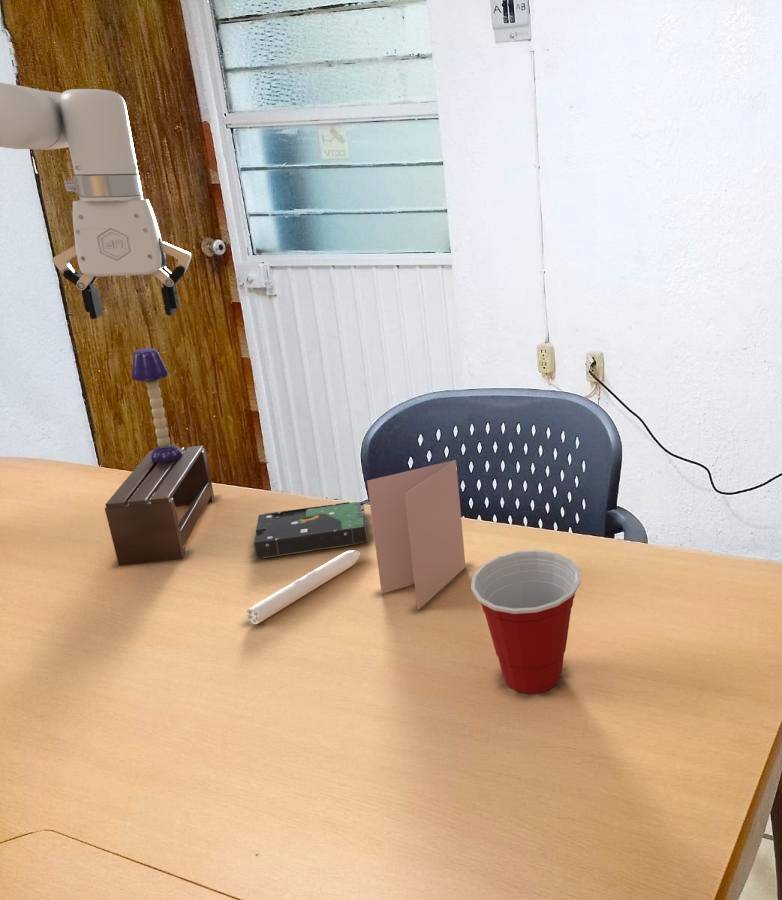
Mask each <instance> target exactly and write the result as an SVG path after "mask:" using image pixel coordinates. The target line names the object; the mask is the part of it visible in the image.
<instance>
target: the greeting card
mask: <svg viewBox="0 0 782 900" xmlns="http://www.w3.org/2000/svg"><path fill="white" fill-rule="evenodd" d="M366 483H367V484H366V485H367V493H368V500H369V507H370V513H371V524H372V529H373V537H374V545H375V553H376V561H377V569H378V576H379V584H380V591H381V594H383V593H387V592H391V591H395V590H397V589H401V588H403V587H406V586H409V585H413V584H414V589H415V597H416V598H415V599H416V606H417V610H418V611H419V610H420V609H422V607H423V606H424V605H425V604H426V603H428V602H429V601H430V600H431V599H432V598H433V597H434V596H436V594H437V593H439V592H440V591H441V590H442V589H443V588H444V587H445V586H447V584H449V583H450V582H451V581H453V579H454V578H456V577H457V576H458V575H459V574H460V573H461V572H462V571H463V570H464V569H466V567H467V566H466V555H465V545H464V534H463V532H464V531H463V521H462V512H461V499H460V489H459V477H458V466H457V460H456V459H454V460H449V461H445V462H440V463H436V464H433V465H428V466H424V467H420V468H416V469H410V470H407V471H403V472H398V473H395V474H390V475H386V476H381V477H377V478H373V479H369V480H366Z"/></svg>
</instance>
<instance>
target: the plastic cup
mask: <svg viewBox="0 0 782 900" xmlns="http://www.w3.org/2000/svg"><path fill="white" fill-rule="evenodd" d="M581 576H582V575H581V569H580V567H579V566H578V565H577V564H576V563H575V562H574V561H573V560H572V559H571V558H569V557H567V556H565V555H563V554H561V553H558V552H556V551H547V550H541V549H527V550H515V551H512V552H509V553H504V554H501V555H497V556H495V557H493V558H492V559H490V560H489V561H487V562H485V563H483V564H482V565H481V566H480V567H479V568H478V569H477V570H476V571H475V572H474V574H473V575H472V577H471V584H470V589H471V591H472V594H473V595H474V596H475V598H476V599H477V601H478V602H479V604H480V605H481V608H482V611H483V613H484V615H485V618H486V623H487V626H488V630H489V633H490V637H491V640H492V645H493V647H494V650H495V655H496V656H497V659H498V662H499V667H500V669H501V673H502V678H503V679H504V681H505V683H506V685H507V686H508V688H509V689H511V690H513V691H515V692H518V693H521V694H527V695H528V694H540V693H542V692H543V693H544V692H546V691H549V690H550V689H552V688H553V687H555V686H556V685H557V684H558V683H559V680H561V675H562V672H563V665H564V659H565V658H564V657H565V652H566V650H567V642H568V635H569V629H570V628H569V627H570V621H571V613H572V608H573V605H574V599H575V596H576V592H577V590H578V589H579V587H580V586H581V582H582V577H581Z"/></svg>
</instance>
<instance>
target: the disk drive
mask: <svg viewBox="0 0 782 900" xmlns="http://www.w3.org/2000/svg"><path fill="white" fill-rule="evenodd" d="M366 520H367V518H366V511H365V504H364V502H363V501H351V502H350V501H348V502H347V501H346V502H340V503H335V504H326V505H319V506H312V507H304V508H297V509H296V508H295V509H288V510H283V511H274V512H273V511H272V512H268V513H262V514H259V515H258V517H257V523H256V527H255V528H256V529H255V536H254V539H253V547H254V552H255V556H256V558H257V559H260V558H263V559H266V558H272V557H279V556H286V555H291V554H292V555H293V554H294V555H295V554H300V553H305V552H311V551H315V550H316V551H318V550H325V549H332V548H341V547H346V546H351V545H358V544H363V543H366V542H369V537H368V528H367V521H366Z"/></svg>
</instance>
